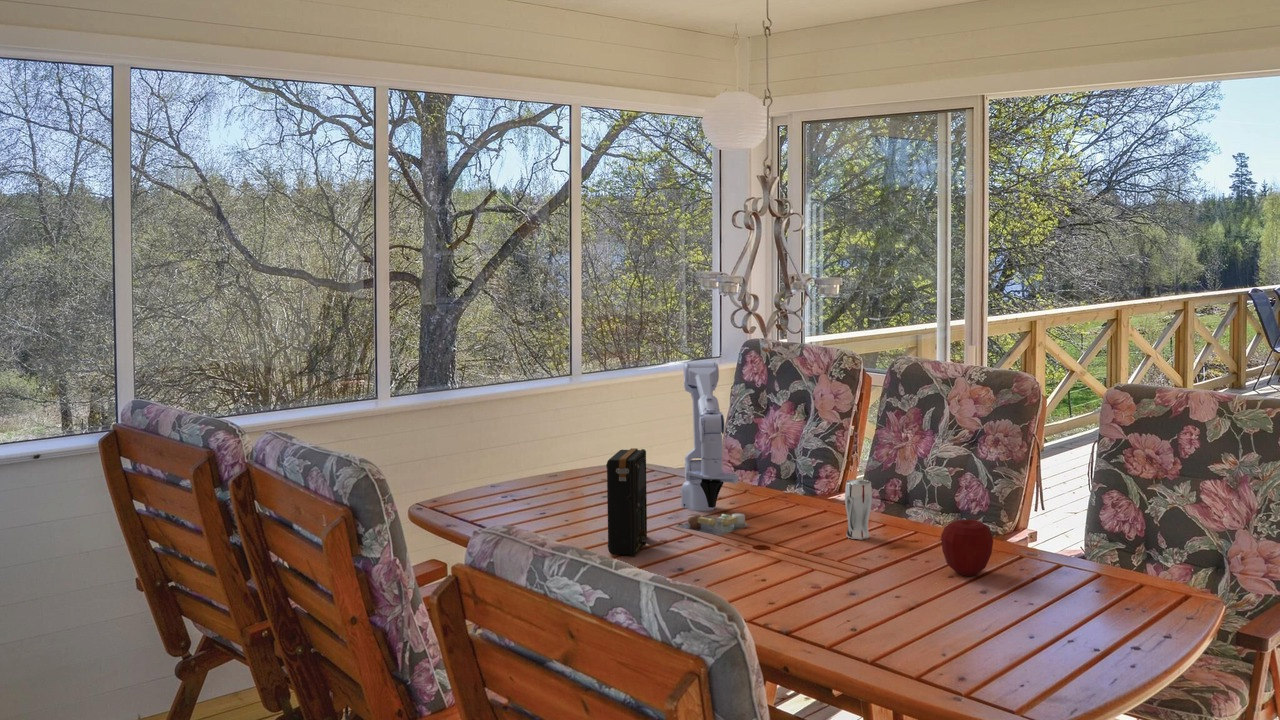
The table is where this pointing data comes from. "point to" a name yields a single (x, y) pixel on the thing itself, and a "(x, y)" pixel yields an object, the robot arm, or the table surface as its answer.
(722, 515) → the bubble vial
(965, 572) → the apple
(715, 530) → the levelling plate
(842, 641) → the table surface
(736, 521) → the footscrew grey
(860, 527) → the beer glass
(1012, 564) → the table surface
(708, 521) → the beige knobbed bar
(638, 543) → the voltmeter
